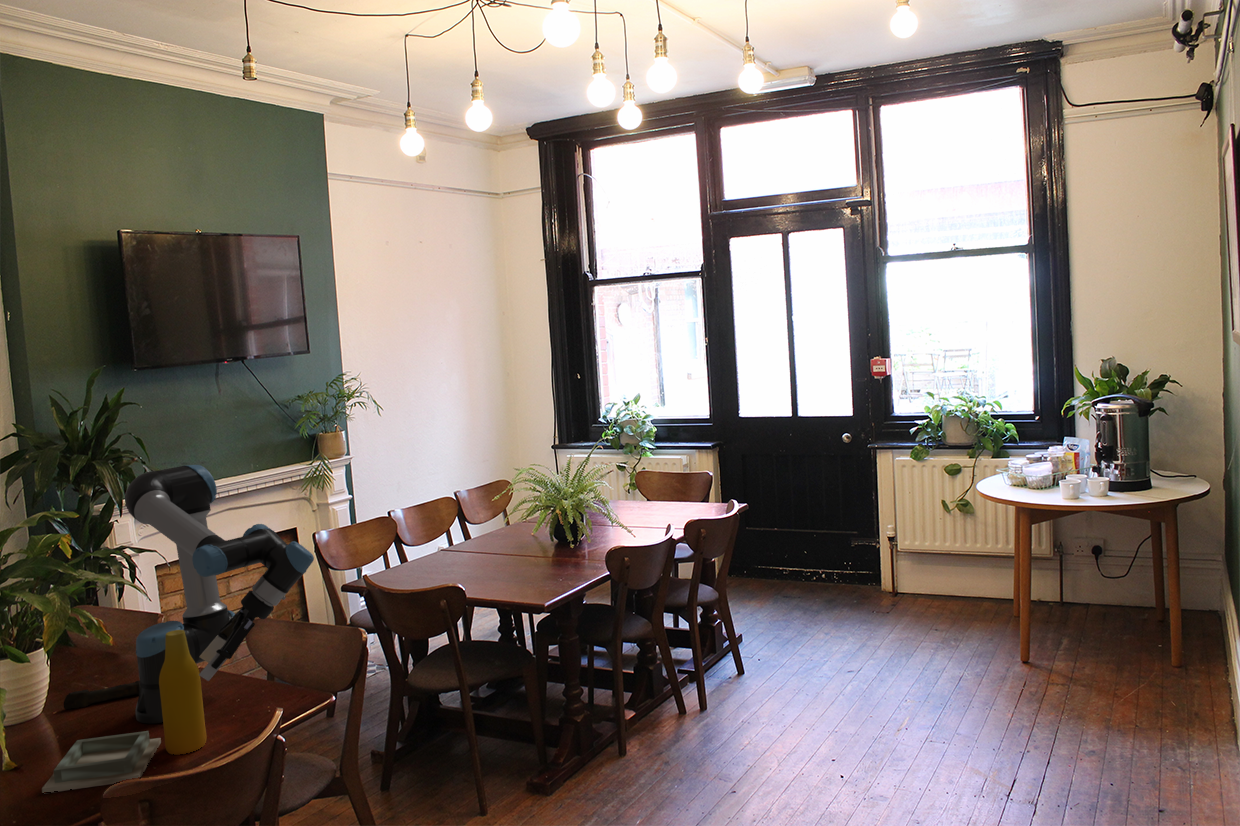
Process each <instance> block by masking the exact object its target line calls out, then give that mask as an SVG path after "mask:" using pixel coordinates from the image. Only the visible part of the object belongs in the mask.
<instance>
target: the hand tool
mask: <svg viewBox="0 0 1240 826" xmlns="http://www.w3.org/2000/svg"><path fill="white" fill-rule="evenodd" d="M140 689H141V688H140V680H135V681H134V682H130V683H124V684H123V683H122V684H120V685H116V686H112V687H107V688H101V689H96V690H90V691H89V689H83V690H77V691H72V692H69V693H68V694H67V695H66V696H65V698H64V700H63V709H64V710H72V709H71V708H75V709H80V708H79V707H81V708H87V707H89V706H90V705H92V704H96V703H100V702H104V701H109V700H115V699H116V700H117V699H121V698H126V697H131V696H134V695H135V696H136V695H138V696H139V694H140ZM88 705H89V706H88ZM86 706H87V707H86Z"/></svg>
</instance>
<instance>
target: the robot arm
mask: <svg viewBox="0 0 1240 826" xmlns="http://www.w3.org/2000/svg"><path fill="white" fill-rule="evenodd" d="M216 484H217V483H216V482H215V478H214V477H213V475H212V474H211V472H210V471H209V470H208V469H207V468H206V467H204V466H203V465H200V464H188V465H187V464H186V465H184V464H183V465H182V466H181V465H180V466H176V467H175V466H174V467H170V468H163V469H157V470H152V471H147V472H144V473H142V474H140V475H137V477H136V478H133V480H132V481H131V482H130V484H129V485H128V487H127V489H126V492H125V495H124V502H125V503H124V504H125V507H126V510H127V511H128V513H129V514H130V516H132V518H134V520H136V521H138V523H141V524H142V525H150V526H151V527H152V528H154V529H155V530H157V531H158V532H159V533H161V534H162V535H163V536H165V537H167V539H169V540H170V541H171V542H173V543H174V544H175V545H176V550H177V551H176V552H177V557H178V563H179V569H180V574H181V581H182V586H183V593H184V598H185V604H186V609H185V610H184V612H183V613H182V615H181V616H182V622H181V621H179V620H167V621H165V622H158V623H156V624H153V625H151V626H149V627H146V628H145V629H144V630H142V631H141V632H139V634H138V635H137V636H136V639H135V640H136V641H135V655H136V658H137V659H136V660H137V669H138V678H139V681H140V688H141V689H140V694H139V695H138V697H137V702H136V706H135V718H136V721H137V722H139V723H142V724H150V725H151V724H153V725H154V724H163V723H162V722H163V715H162V706H161V696H160V687H159V676H160V672H161V669H162V666H163V664H164V661H165V640H166V633H168V632H170V631H174V630H184V631H185V635H186V640H187V644H188V649H189V653H190V655H191V657H192V658H193V660H194V661H195V663H196V665H197V664H200V663H203V662H206V663H207V664H206V665H205V666H204V667H203V668H202V670H201V671H199V672H200V674H199V676H200V678H203V679H204V680H206V681H207V682H210V680H211V679H212V678H213V676H215V674H216V673H217V672H218V671H219V670H220V668H221V667H222V666H223V665H224V663H226V661H228V660H231V659H232V658H233V656H234V655H235V653H236V651H237V650H238V649H239V647H240V646H241V644H243V641H244V640H245V639H246V638H247V635H248V634H249V632H251V630H252V629H253V628H254V627H255V625H256V623H255V622H254V621H255V619H256V618H258V619H260V620H265V619H267V618H268V617H269V616H270V614H271V613H272V612H273V611H274V609H275V606H276V607H277V605H279V603H280V602H281V600H283V601H285V600H286V594H288V593H289V591H290V590H291V589H292V587H293V586H294V585H295V584H296V583H297V582H298V581H299V580H300V579H301V578H302V577H303V575H304V574H306V572H307V570H308V569H309V568H310V566H311V565H312V564H313V562H314V560H315V557H314V555H313V553H312V552H310V550H308V549H307V548H306V547H304V546H303V545H302V544H301V543H299V542H297V541H295V540H294V541H291V542H290V543H286V541H284V539H282V538H281V536H279V535H278V534H277V533H276V532H275V530H272V528H270V527H268V526H267V525H266V524H263V523H256V524H254V525H252V526H251V527H249V528H247V529H246V530H245V531H244V533H243V535H242V536H240V537H239V536H238V537H237V538H236V537H235V538H231V539H226V540H225V539H223V538H222V537H221V536H219V535H218V534H216V533H215V532H213V531H212V530H211V529H209V528H208V521H207V516H208V515H209V513H210V512H211V510H212V509H211V504H212V503H214V501H216V498H217V494H218V493H217V492H218V491H217V490H218V489H217V485H216ZM257 564H261V565H263V566H264V567H265V568H266V570H265V571H264V573H263V574H261V576H260V577H259V579H258V580H257V581H256V582H255V583H254V585H253V586H252V587H251V590H249V591H248V592H247V593H246V594H245V595H244V596H243V598H242V599H241V600H240V604H241V608H240V609H239V610H238V611H237V612H234V611H232V610H229V609H228V605H227V604H225V603H224V602H222V601H221V597H220V591H219V587H218V580H217V576H219V575H222V574H225V573H228V572H232V571H235V570H238V569H241V568H242V569H243V568H246V567H251V566H253V565H257Z"/></svg>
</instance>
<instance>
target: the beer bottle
mask: <svg viewBox="0 0 1240 826" xmlns="http://www.w3.org/2000/svg"><path fill="white" fill-rule="evenodd" d="M200 672H201V671H200V669H199V667H198V665H197V664H196V663H195V661H194V660H193V658H192V657H191V655H190V653H189V649H188V644H187V640H186V635H185V631H184V630H174V631H170V632H168V633H166V640H165V661H164V664H163V666H162V669H161V672H160V676H159V687H160V696H161V706H162V715H163V723H162V725H163V732H164V733H163V734H164V746H165V750H166V752H167V753H168V754H170V755H173V754H174V755H175V756H181V755H180V754H183V755H187V754H186V753H188V754H190V752H192V753H194V752H193V751H195V752H197V751H199V750H201V749H202V748H203V747H204V746H205V745H206V744H207V739H208V738H207V737H208V735H207V729H206V724H205V723H206V722H205V721H206V720H205V712H204V710H205V709H204V701H203V700H204V699H203V692H202V680H201V678H202V677H201V676H199V674H200ZM205 743H206V744H205ZM201 747H202V748H201ZM200 748H201V749H200ZM198 749H199V750H198ZM196 750H197V751H196Z"/></svg>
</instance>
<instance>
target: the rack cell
mask: <svg viewBox="0 0 1240 826" xmlns="http://www.w3.org/2000/svg"><path fill="white" fill-rule="evenodd" d="M149 732H150V731H149V730H146V731H138V732H137V731H136V732H130V733H129V732H128V733H122V734H114V735H105V736H100V737H92V738H91V737H90V738H84V739H77V740H76V741H75V742H74V744H73V745H72V746H71V747H70V749H69V750H68V751H67V752H66V754H65V755H64V756H63V758H62V759H61V760H60V761H59V763H58V764H57V766H55V768H54V769H53V773H52V775H51V776H50V778H48V780H47V782H46V783H45V784H44V785H43V786H42V787H41V793H44V792H51V793H55V792H54V791H58V792H64V791H70V789H72V790H79V789H85V788H93V787H99V786H107V785H113V784H114V783H115V784H117V783H116V782H119V781H122V780H126V779H132V778H138V777H141V778H142V776H143V774H144V773H143V772H145V771H146V769H147V768H148V766H149V764H150V762H151V761H150V760H152V759H153V757H154V756H155V754H156V752H157V750H158V749H157V748H159V747H160V745H161V743H162V740H161V739H162V738H161V737H157V738H150V733H149ZM154 753H155V754H154ZM151 758H152V759H151ZM148 763H149V764H148ZM147 765H148V766H147ZM44 794H45V793H44Z"/></svg>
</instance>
